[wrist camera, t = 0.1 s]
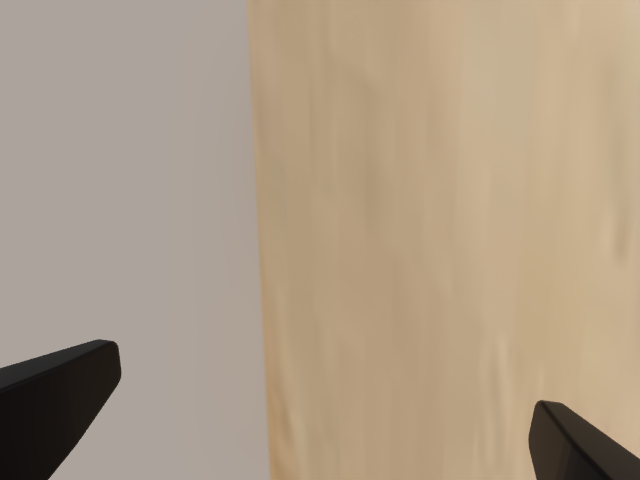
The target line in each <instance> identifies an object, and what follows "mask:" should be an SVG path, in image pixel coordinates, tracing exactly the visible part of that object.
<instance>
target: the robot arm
mask: <svg viewBox="0 0 640 480" xmlns="http://www.w3.org/2000/svg"><path fill="white" fill-rule="evenodd" d="M120 378H121V366H120V356H119V348H118V345H117V344H116V343H115V342H114V341H108V340H100V339H99V340H94V341H90V342H87V343H84V344H80V345H77V346H74V347H70V348H67V349H63V350H60V351H57V352H53V353H50V354H47V355H43V356H40V357H37V358H33V359H30V360H27V361H23V362H20V363H16V364H13V365H10V366H7V367H3V368H0V480H48V479H49V478H50V477H51V476H52V474H53V473H54V472H55V471H56V469H57V468H58V467H59V466H60V464H61V463H62V462H63V461H64V460H65V458H66V457H67V456H68V455H69V453H70V452H71V451H72V450H73V448H74V447H75V446H76V444H77V443H78V442H79V440H80V439H81V438H82V436H83V435H84V433H85V432H86V430H87V429H88V428H89V426H90V425H91V423H92V422H93V420H94V419H95V417H96V416H97V414H98V413H99V411H100V410H101V409H102V407H103V406H104V404H105V403H106V401H107V400H108V398H109V397H110V395H111V394H112V392H113V391H114V389H115V388H116V387H117V385H118V383H119V381H120ZM529 449H530V454H531V458H532V462H533V466H534V470H535V474H536V479H537V480H640V459H639V458H638V457H636V456H635V455H634V454H632V453H631V452H629V451H628V450H627V449H625V448H624V447H622V446H621V445H620V444H618V443H617V442H615V441H614V440H613V439H611V438H610V437H608V436H607V435H606V434H604V433H603V432H601V431H600V430H599V429H597V428H596V427H594V426H593V425H592V424H590V423H589V422H588V421H586V420H585V419H583V418H582V417H581V416H579V415H578V414H576V413H575V412H574V411H572V410H571V409H569V408H568V407H567V406H565V405H564V404H562V403H559V402H551V401H544V400H540V401H538V402H537V403H536V405H535V408H534V413H533V418H532V422H531V427H530V432H529Z"/></svg>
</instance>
